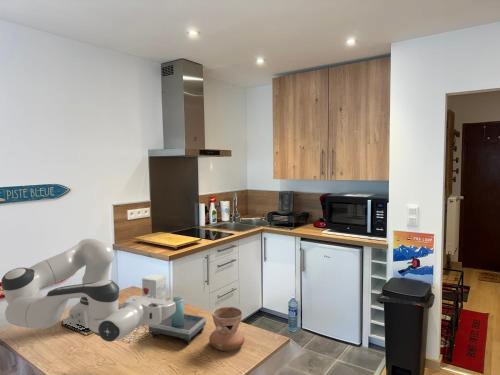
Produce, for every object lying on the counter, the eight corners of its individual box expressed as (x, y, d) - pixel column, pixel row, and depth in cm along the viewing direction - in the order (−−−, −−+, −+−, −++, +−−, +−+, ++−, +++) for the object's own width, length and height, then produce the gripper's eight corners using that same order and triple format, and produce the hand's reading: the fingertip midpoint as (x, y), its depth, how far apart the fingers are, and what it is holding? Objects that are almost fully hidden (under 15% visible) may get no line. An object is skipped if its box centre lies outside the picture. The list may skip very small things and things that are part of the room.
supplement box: (141, 305, 183) (141, 278, 182) (152, 299, 192) (152, 273, 191) (156, 308, 180) (155, 280, 179) (166, 302, 188) (166, 275, 187)
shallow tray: (149, 337, 150) (148, 323, 149) (167, 323, 163) (167, 310, 162) (189, 346, 143) (189, 331, 142) (205, 331, 156) (205, 317, 155)
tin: (169, 325, 151) (168, 300, 150) (175, 319, 156) (175, 295, 155) (179, 327, 149) (179, 302, 148) (186, 321, 154) (185, 297, 153)
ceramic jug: (234, 360, 133) (234, 323, 132) (201, 351, 139) (201, 316, 138) (251, 339, 150) (252, 306, 149) (221, 332, 155) (222, 301, 154)
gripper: (116, 315, 131) (140, 302, 144) (162, 325, 124) (183, 309, 137) (116, 299, 130) (140, 287, 143) (162, 307, 123) (183, 294, 136)
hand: (161, 298), depth 140 cm, fingers open, 8 cm apart
